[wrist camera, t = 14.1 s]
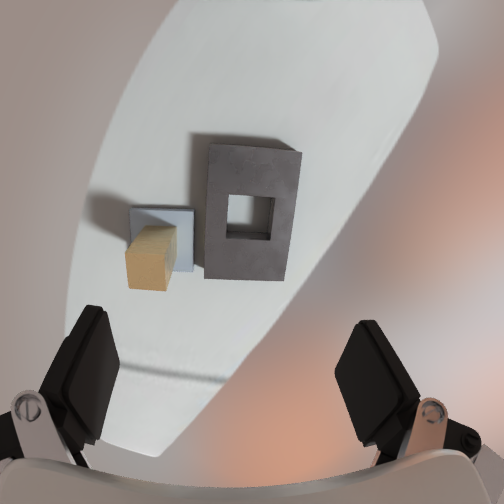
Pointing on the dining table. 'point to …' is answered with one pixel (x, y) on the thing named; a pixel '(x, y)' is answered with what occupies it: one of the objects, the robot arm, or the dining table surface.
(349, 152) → the dining table surface
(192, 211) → the mat
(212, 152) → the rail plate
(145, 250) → the brass block
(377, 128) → the dining table surface
